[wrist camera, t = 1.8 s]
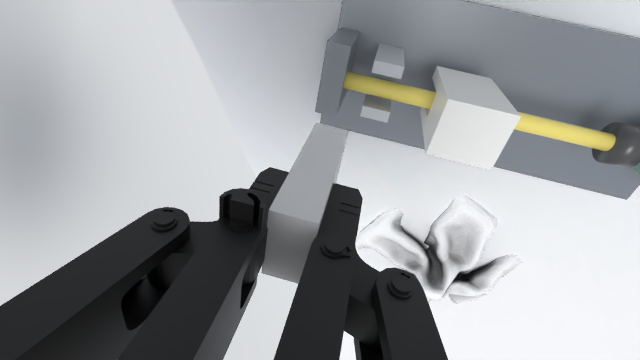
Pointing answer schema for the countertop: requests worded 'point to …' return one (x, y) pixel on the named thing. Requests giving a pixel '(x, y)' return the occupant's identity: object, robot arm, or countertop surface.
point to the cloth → (442, 251)
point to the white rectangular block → (467, 119)
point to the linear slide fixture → (507, 73)
